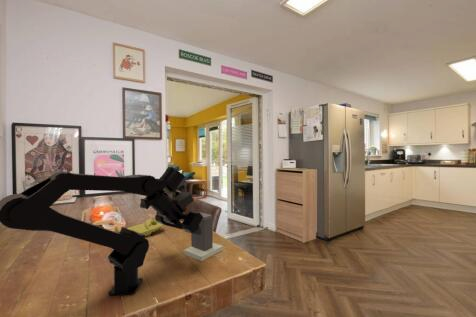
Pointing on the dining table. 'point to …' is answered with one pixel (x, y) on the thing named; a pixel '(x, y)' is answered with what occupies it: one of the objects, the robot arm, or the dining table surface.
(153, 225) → the plastic component
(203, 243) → the block
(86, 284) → the dining table surface
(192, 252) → the board
